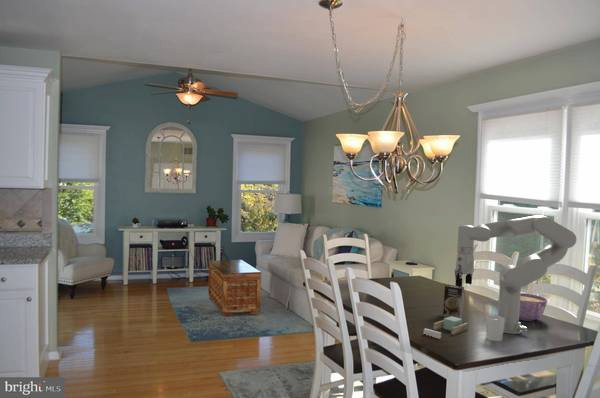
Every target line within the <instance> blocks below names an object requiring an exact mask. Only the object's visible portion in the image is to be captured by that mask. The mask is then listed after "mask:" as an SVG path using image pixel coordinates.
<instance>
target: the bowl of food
mask: <svg viewBox="0 0 600 398" xmlns="http://www.w3.org/2000/svg"><path fill="white" fill-rule="evenodd" d="M547 304H548V299H547V298H546V297H544V296H541V295H538V294H532V293H523V292H521V297H520V311H519V321H520V320H521V321H526V322H533V321H534V320H537V319H540V318H541V317H542V316H543V314H544V312H545V310H546V307H547Z"/></svg>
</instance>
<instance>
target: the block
mask: <svg viewBox="0 0 600 398" xmlns="http://www.w3.org/2000/svg"><path fill="white" fill-rule="evenodd" d="M443 320H444V325H443V328H442V329H444V330H447V331H450V332H451V328H453V327H455V326H458V325H461V324H464V323H463V318H461V319H460V318H457V317H453V316H450V317H444V318H443Z"/></svg>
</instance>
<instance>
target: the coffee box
mask: <svg viewBox="0 0 600 398" xmlns="http://www.w3.org/2000/svg"><path fill="white" fill-rule="evenodd" d="M464 296H465V286H462V287H459V286H456V285H454V284H446V285H445V286H444V295H443V308H442V309H443V310H442V316H443V317H444V318H447V317H450V316H453V317H457V318H460V319H463V318H462V317H463V311H464V310H463V309H464Z"/></svg>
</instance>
